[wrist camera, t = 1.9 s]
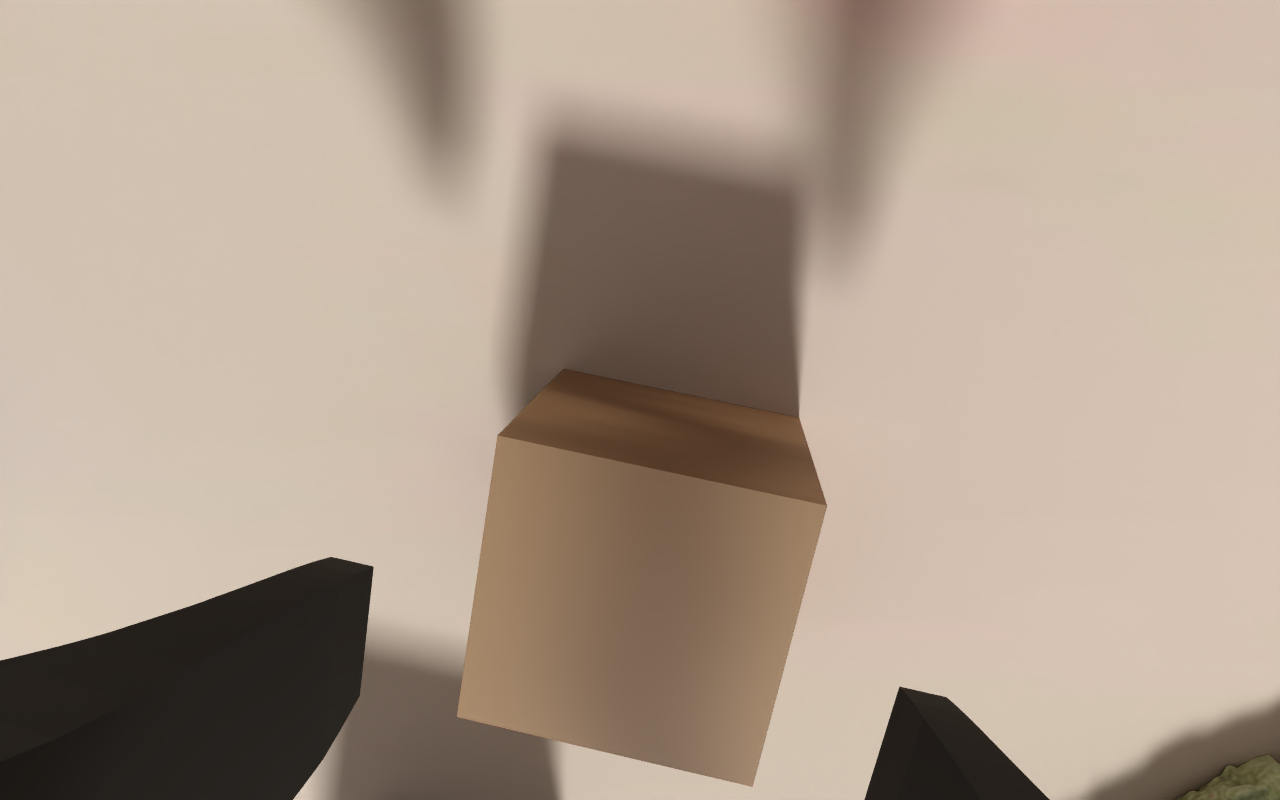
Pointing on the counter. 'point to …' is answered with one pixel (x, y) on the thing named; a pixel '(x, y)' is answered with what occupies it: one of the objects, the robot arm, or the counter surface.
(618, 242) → the counter surface
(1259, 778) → the washcloth
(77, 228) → the counter surface
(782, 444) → the walnut block
